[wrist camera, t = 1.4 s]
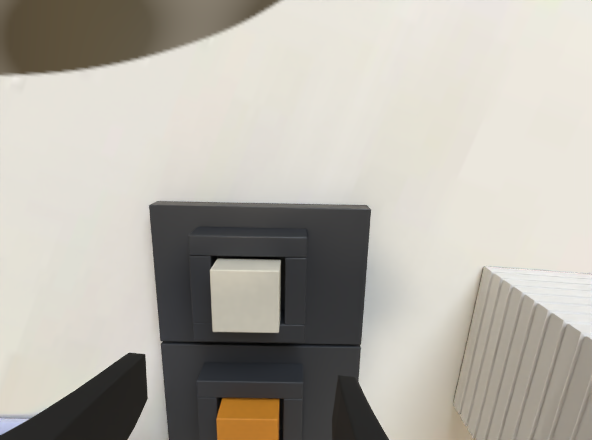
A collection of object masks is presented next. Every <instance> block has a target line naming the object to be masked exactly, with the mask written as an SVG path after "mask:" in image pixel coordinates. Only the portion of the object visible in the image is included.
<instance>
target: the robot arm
mask: <svg viewBox="0 0 592 440" xmlns="http://www.w3.org/2000/svg"><path fill="white" fill-rule="evenodd" d="M146 401H147V380H146V361H145V354H136V353H128V354H127V355H125V356H124V357H122V358H121V359H119V360H118V361H116V362H115V363H114V364H112V365H111V366H109V367H108V368H107V369H105V370H104V371H102V372H101V373H100V374H98V375H97V376H95V377H94V378H92V379H91V380H89V381H88V382H87V383H85V384H84V385H82V386H81V387H79V388H78V389H76V390H75V391H73V392H72V393H70V394H69V395H67V396H66V397H64V398H63V399H61V400H59V401H58V402H56V403H55V404H53V405H52V406H50V407H49V408H47V409H45V410H44V411H42V412H41V413H39V414H37V415H36V416H34V417H32V418H30V419H22V418H0V440H127V439H128V438H129V436H130V434H131V432H132V431H133V429H134V427H135V425H136V423H137V421H138V419H139V417H140V415H141V412H142V410H143V408H144V406H145V403H146ZM332 440H389V439H388V437H387V435H386V434H385V432H384V430H383V429H382V427H381V425H380V423H379V422H378V420H377V418H376V416H375V415H374V413H373V411H372V409H371V407H370V405H369V403H368V401H367V399H366V397H365V395H364V393H363V391H362V389H361V387H360V385H359V382H358V380H357V379H356V378H355V377H351V376H342V375H338V381H337V388H336V394H335V401H334V408H333V415H332Z"/></svg>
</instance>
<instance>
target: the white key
mask: <svg viewBox="0 0 592 440" xmlns="http://www.w3.org/2000/svg"><path fill="white" fill-rule="evenodd" d="M210 286H211V309H212V331H213V332H250V333H279V327H280V305H281V260H277V259H223V258H218V259H217V260H216V261H215V263H214V265H213V266H212V268H211V269H210Z"/></svg>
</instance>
